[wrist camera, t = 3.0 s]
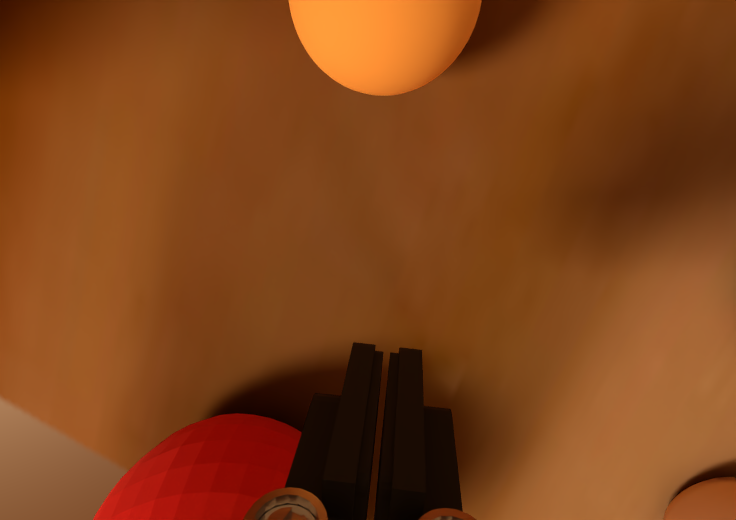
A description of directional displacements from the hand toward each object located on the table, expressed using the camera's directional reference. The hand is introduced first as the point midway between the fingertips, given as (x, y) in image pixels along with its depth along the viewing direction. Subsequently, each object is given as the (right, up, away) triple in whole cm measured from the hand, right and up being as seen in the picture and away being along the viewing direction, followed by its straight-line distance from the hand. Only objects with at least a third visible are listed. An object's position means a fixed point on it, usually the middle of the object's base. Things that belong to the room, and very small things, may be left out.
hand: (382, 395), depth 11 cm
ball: (0, +11, +2) cm, 11 cm away
